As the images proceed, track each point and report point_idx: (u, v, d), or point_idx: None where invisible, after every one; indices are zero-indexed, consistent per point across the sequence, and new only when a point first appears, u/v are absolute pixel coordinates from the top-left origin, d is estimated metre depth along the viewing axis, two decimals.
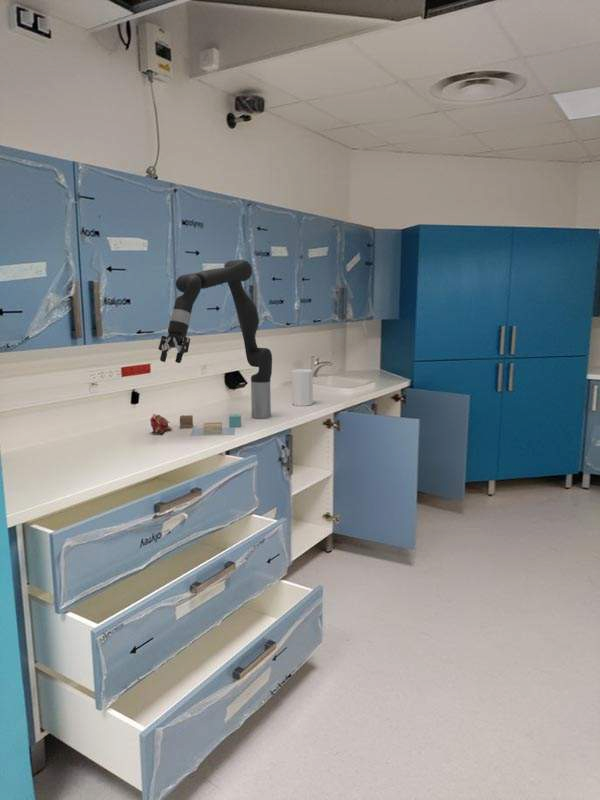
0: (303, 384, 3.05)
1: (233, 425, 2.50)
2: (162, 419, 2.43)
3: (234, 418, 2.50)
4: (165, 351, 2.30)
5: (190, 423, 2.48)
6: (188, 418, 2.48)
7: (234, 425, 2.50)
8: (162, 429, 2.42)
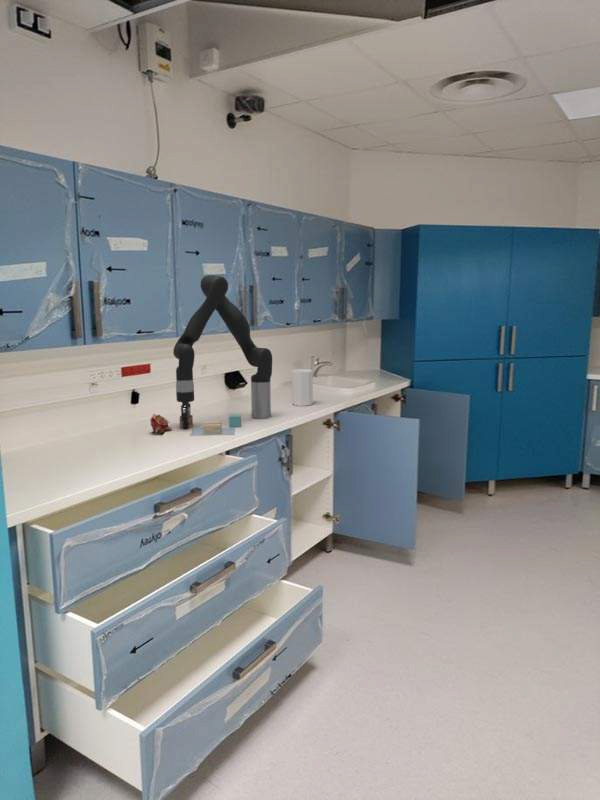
0: (303, 384, 3.05)
1: (233, 425, 2.50)
2: (162, 419, 2.43)
3: (234, 418, 2.50)
4: None
5: (190, 423, 2.48)
6: (188, 418, 2.48)
7: (234, 425, 2.50)
8: (162, 429, 2.42)
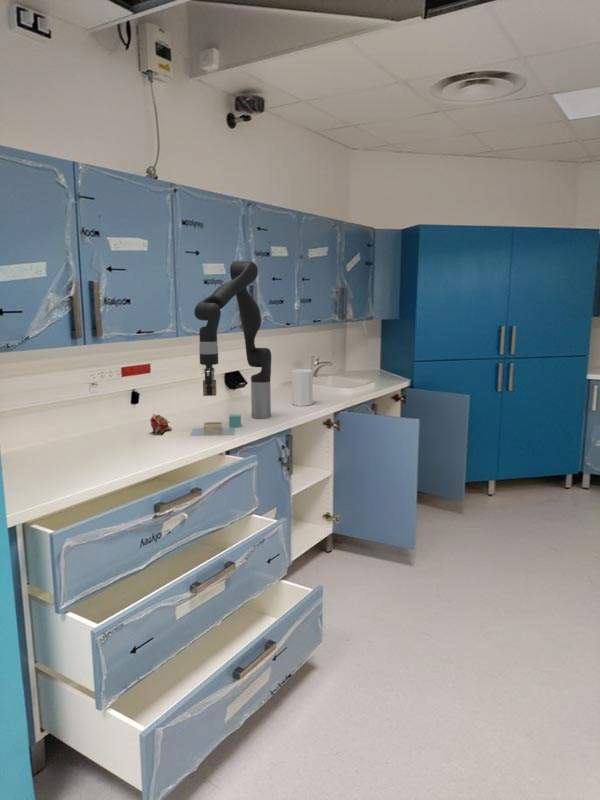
0: (303, 384, 3.05)
1: (233, 425, 2.50)
2: (162, 419, 2.43)
3: (234, 418, 2.50)
4: None
5: (214, 387, 2.35)
6: (212, 382, 2.35)
7: (234, 425, 2.50)
8: (162, 429, 2.42)
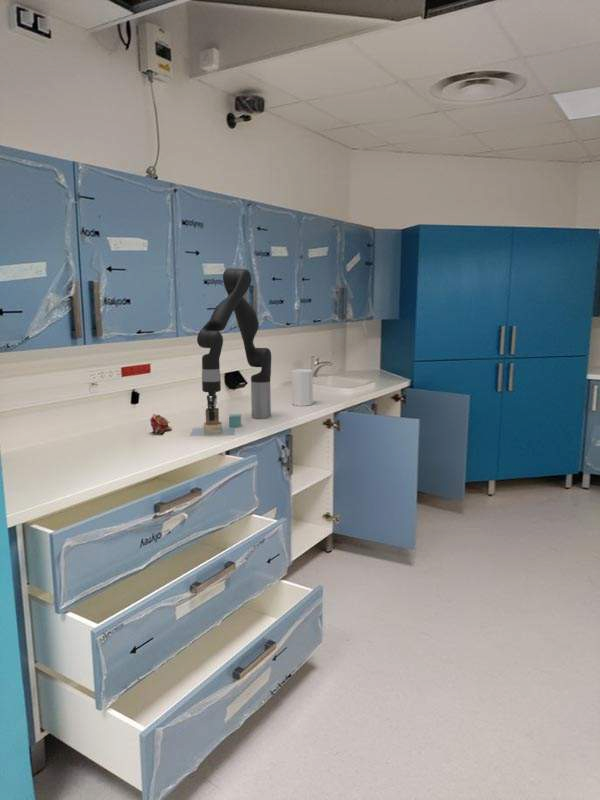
0: (303, 384, 3.05)
1: (233, 425, 2.50)
2: (162, 419, 2.43)
3: (234, 418, 2.50)
4: (212, 407, 2.42)
5: (216, 416, 2.37)
6: None
7: (234, 425, 2.50)
8: (162, 429, 2.42)
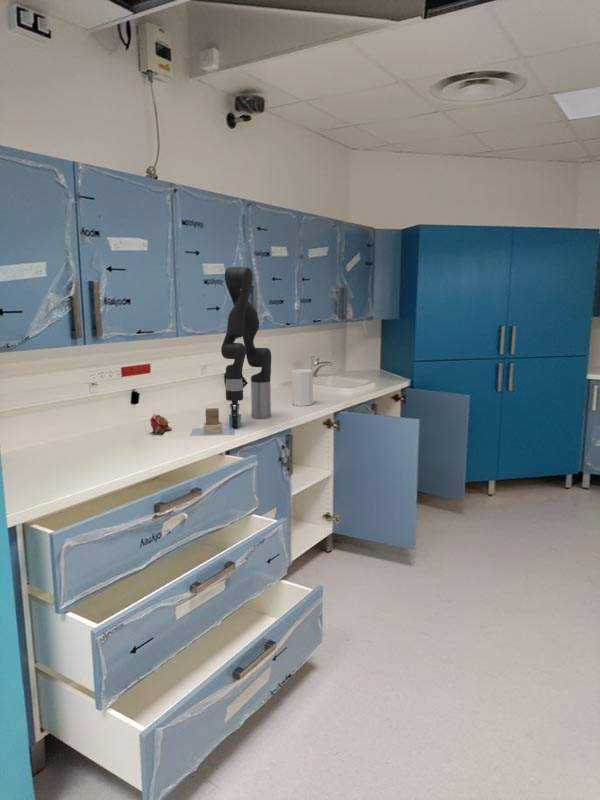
0: (303, 384, 3.05)
1: None
2: (162, 419, 2.43)
3: None
4: None
5: (216, 416, 2.37)
6: (214, 411, 2.36)
7: None
8: (162, 429, 2.42)
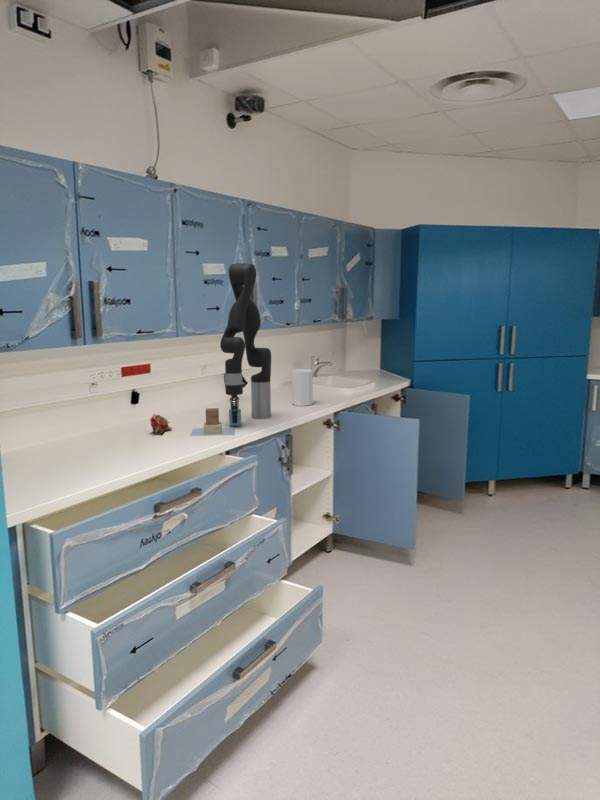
0: (303, 384, 3.05)
1: None
2: (162, 419, 2.43)
3: None
4: None
5: (216, 416, 2.37)
6: (214, 411, 2.36)
7: None
8: (162, 429, 2.42)
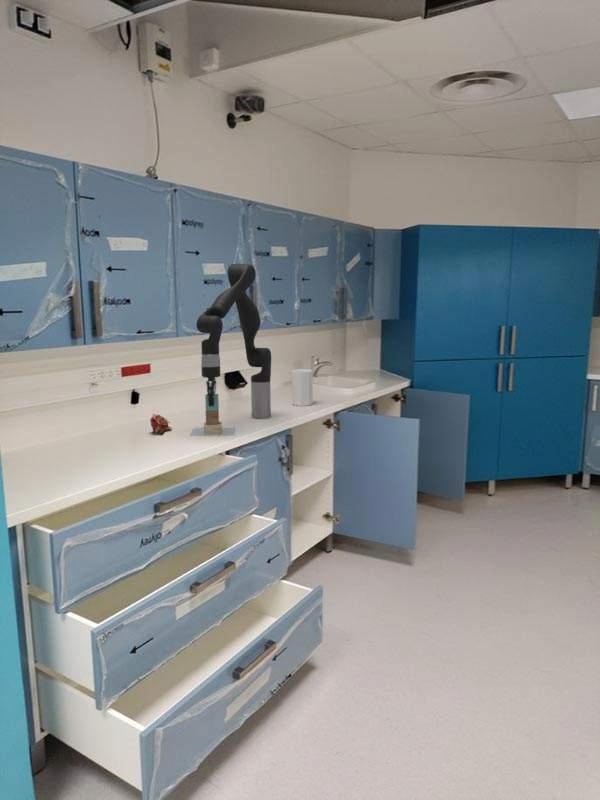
0: (303, 384, 3.05)
1: None
2: (162, 419, 2.43)
3: None
4: (212, 392, 2.41)
5: (216, 416, 2.37)
6: (214, 411, 2.36)
7: None
8: (162, 429, 2.42)
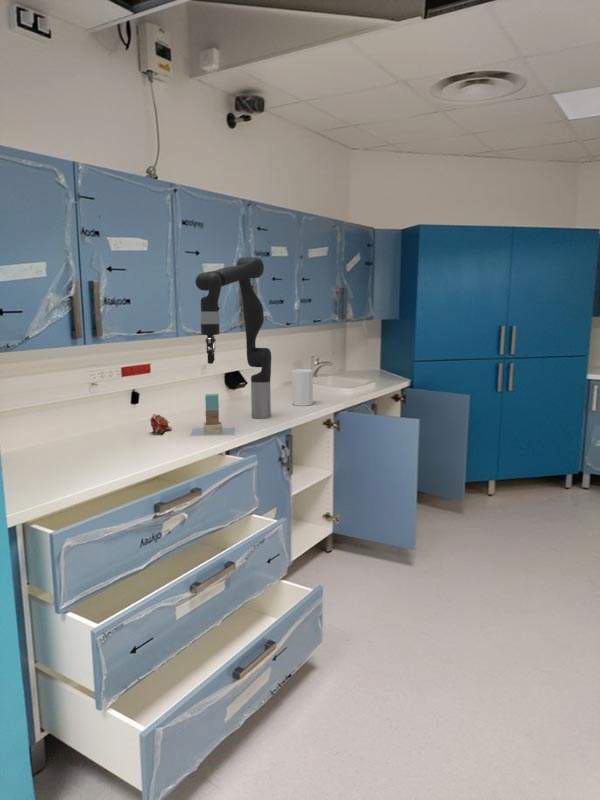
0: (303, 384, 3.05)
1: (210, 405, 2.36)
2: (162, 419, 2.43)
3: (211, 397, 2.35)
4: None
5: (216, 416, 2.37)
6: (214, 411, 2.36)
7: (211, 405, 2.36)
8: (162, 429, 2.42)
